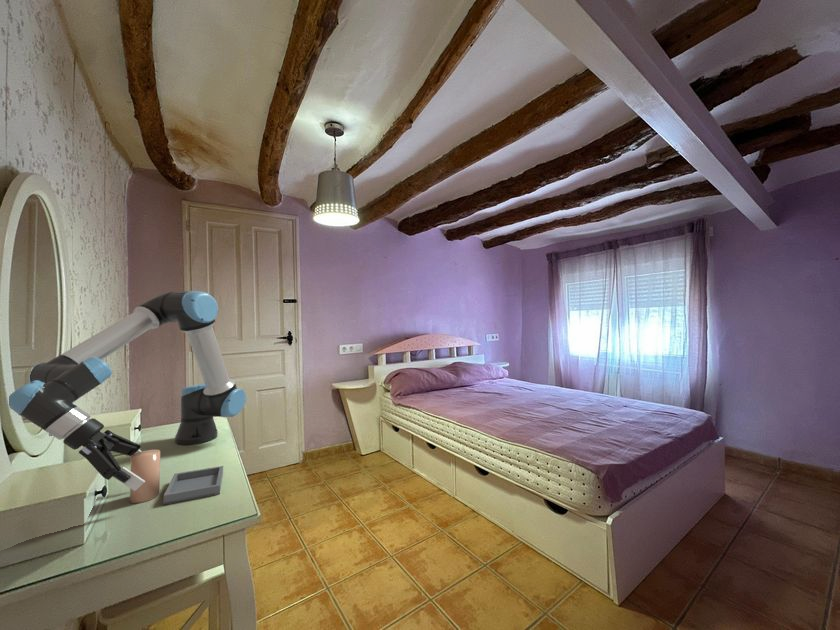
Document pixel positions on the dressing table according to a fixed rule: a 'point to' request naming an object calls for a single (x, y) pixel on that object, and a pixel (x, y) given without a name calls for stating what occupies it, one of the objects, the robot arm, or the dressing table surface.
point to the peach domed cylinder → (146, 475)
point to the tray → (194, 485)
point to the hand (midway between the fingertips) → (147, 475)
